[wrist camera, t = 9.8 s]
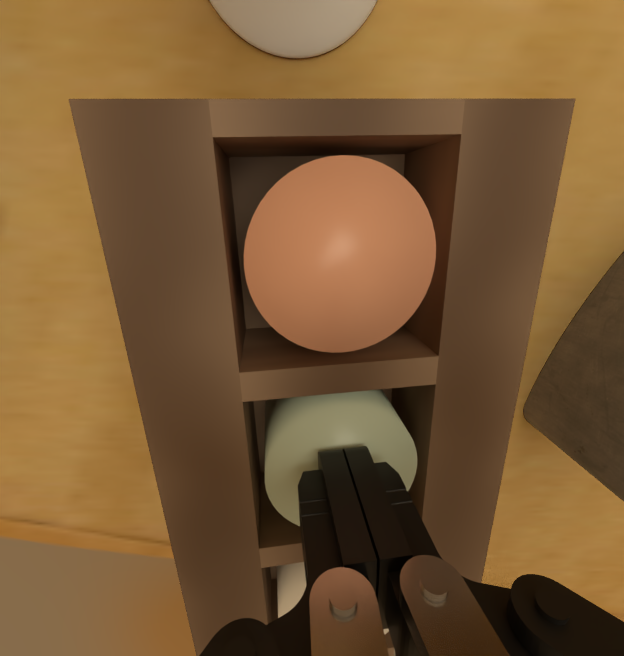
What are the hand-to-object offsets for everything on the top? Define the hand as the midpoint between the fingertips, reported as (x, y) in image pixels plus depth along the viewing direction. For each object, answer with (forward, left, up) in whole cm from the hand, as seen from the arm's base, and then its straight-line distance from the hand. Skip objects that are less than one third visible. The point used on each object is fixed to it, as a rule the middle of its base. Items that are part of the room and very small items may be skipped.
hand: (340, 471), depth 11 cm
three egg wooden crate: (0, 0, -11) cm, 11 cm away
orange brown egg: (0, -6, -4) cm, 7 cm away
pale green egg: (0, 0, -4) cm, 4 cm away
